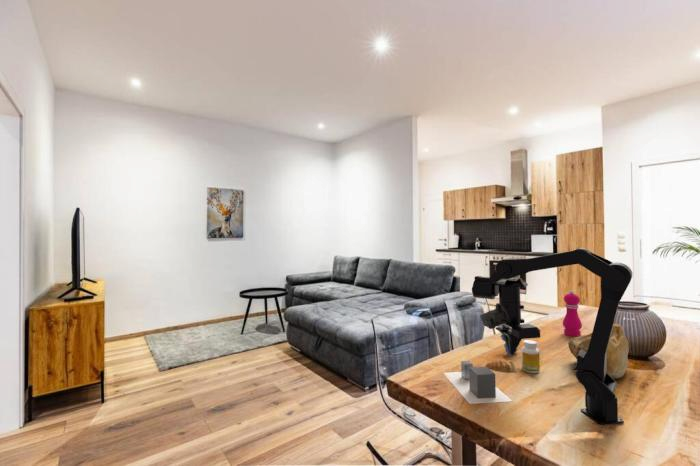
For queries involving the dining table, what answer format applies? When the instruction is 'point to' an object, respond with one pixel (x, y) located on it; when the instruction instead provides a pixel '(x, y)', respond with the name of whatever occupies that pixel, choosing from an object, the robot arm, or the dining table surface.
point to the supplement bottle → (530, 357)
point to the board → (464, 389)
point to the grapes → (506, 346)
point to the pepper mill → (572, 315)
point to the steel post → (465, 369)
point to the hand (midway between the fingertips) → (511, 353)
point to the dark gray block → (482, 382)
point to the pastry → (502, 365)
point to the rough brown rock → (614, 353)
